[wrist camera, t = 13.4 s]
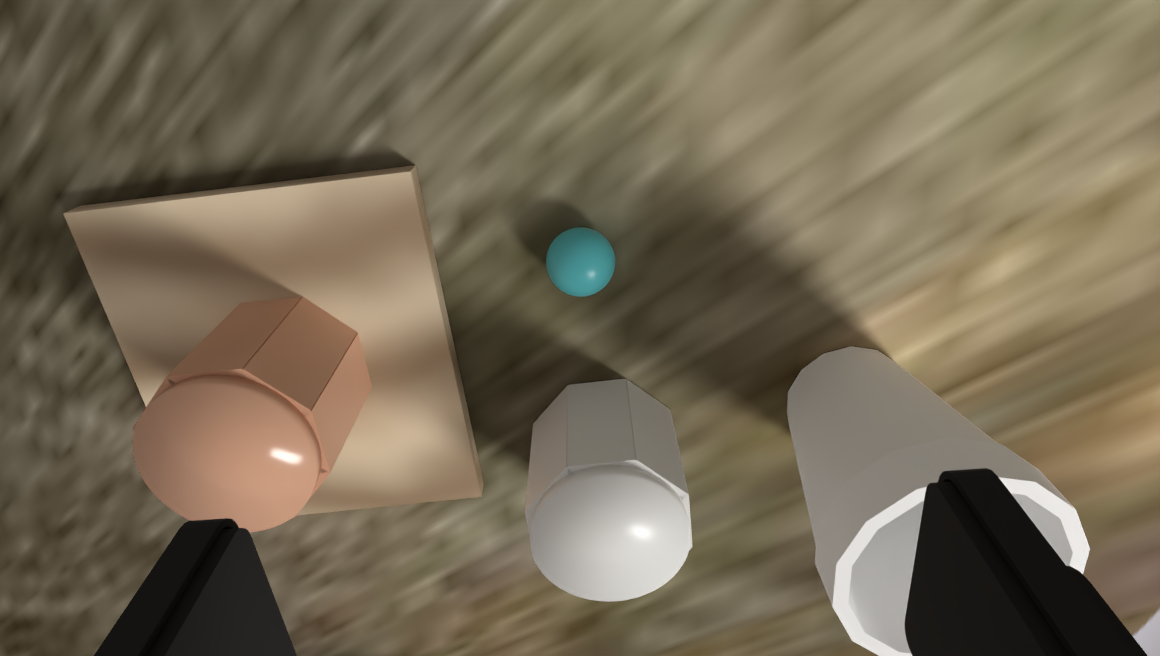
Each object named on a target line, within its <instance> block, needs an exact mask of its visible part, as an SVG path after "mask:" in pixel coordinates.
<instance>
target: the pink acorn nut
mask: <svg viewBox="0 0 1160 656" xmlns="http://www.w3.org/2000/svg"><path fill="white" fill-rule="evenodd" d="M371 388H372V384H371V380H370V376H369V373H368V369H367V365H366V361H365V357H364V354H363V350H362V346H361V342H360V338H359V335H358V333H357V332H356V331H355V330H353V329H352V328H350V327H349V326H347V325H346V324H344V323H343V322H341V321H340V320H338V319H337V318H335V317H333V316H332V315H330V314H329V313H327V312H326V311H324V310H323V309H321V308H320V307H318V306H317V305H315V304H313V303H312V302H310V301H309V300H307V299H306V298H304V297H303V298H302V297H292V298H283V299H273V300H264V301H254V302H245V303H240V304H239V305H238V306H237V307H236V308H235V309H234V310H233V311H232V312H231V313H230V314H229V315H228V316H227V317H226V318H225V319H224V320H223V321H222V322H221V323H220V324H219V325H218V326H217V327H216V328H215V329H214V330H213V331H212V332H211V333H210V334H209V335H208V336H207V337H205V338H204V339H203V340H202V341H201V342H200V343H199V344H198V345H197V346H196V347H195V348H194V349H193V350H192V351H191V352H190V353H189V354H188V355H187V356H186V357H185V358H184V359H183V360H182V361H181V362H180V363H179V364H178V365H177V366H176V367H175V368H174V369H173V370H172V371H171V372H170V373H169V374H168V375H167V376H166V378H165V379H164V381H163V382H162V384H161V385H160V387H159V388H158V390H157V391H156V393H155V395H154V396H153V398H152V399H151V401H150V402H149V404H148V405H147V407H146V408H145V410H144V412H143V413H142V414H141V416H140V418H139V419H138V421H137V422H136V424H135V425H134V427H133V430H134V435H133V453H134V458H135V462H136V465H137V468H138V471H139V473H140V474H141V476H142V478H143V480H144V482H145V483H146V484H147V486H148V487H149V489H150V490H151V491H152V492H153V493H154V494H155V496H156V497H157V498H158V499H159V500H161V501H162V502H163V503H164V504H165V505H166V506H168V507H169V508H170V509H172V510H173V511H174V512H176V513H178V514H179V515H181V516H183V517H184V518H186V519H188V520H190V521H194V520H209V519H224V518H229V519H233V520H234V521H235V522H236V523H237V525H238V527H239V528H245V529H247V530H248V531H249V532H255V531H262V530H266V529H269V528H273V527H275V526H278V525H280V524H282V523H284V522H286V521H288V520H289V519H291V518H294V517H295V516H296V515H297V514H298V512H299V511H300V510H301V509H302V508H303V507H304V506H305V504H306V503H307V501H308V500H309V499H310V498H311V496H312V495H313V494H314V493H315V491H316V490H317V489H318V488H319V486H320V485H321V484H322V483H323V481H324V480H325V479H326V478H327V476H328V475H329V474H330V472H331V470H332V468H333V466H334V464H335V462H336V460H337V458H338V456H339V454H340V452H341V450H342V448H343V446H344V443H345V441H346V439H347V437H348V435H349V433H350V431H351V429H352V427H353V425H354V423H355V421H356V419H357V417H358V415H359V413H360V411H361V409H362V406H363V404H364V402H365V400H366V398H367V396H368V394H369V392H370V390H371Z"/></svg>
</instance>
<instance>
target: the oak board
mask: <svg viewBox="0 0 1160 656" xmlns="http://www.w3.org/2000/svg"><path fill="white" fill-rule="evenodd" d="M63 214H64V217H65V219H66V221H67V224H68V226H69V228H70V231H71V233H72V235H73V238H74V240H75V242H76V245H77V247H78V249H79V252H80V254H81V256H82V259H83V261H84V263H85V266H86V268H87V270H88V273H89V275H90V277H91V280H92V282H93V284H94V287H95V289H96V291H97V294H98V296H99V298H100V301H101V303H102V305H103V308H104V310H105V312H106V315H107V317H108V319H109V322H110V324H111V326H112V329H113V331H114V333H115V336H116V338H117V340H118V343H119V345H120V347H121V350H122V352H123V354H124V357H125V359H126V361H127V364H128V366H129V368H130V371H131V373H132V375H133V378H134V380H135V382H136V385H137V387H138V389H139V392H140V394H141V396H142V399H143V401H144V403H145V406H146V407H147V405H148V404H149V402H150V401H151V399H152V398H153V396H154V395H155V393H156V391H157V390H158V388H159V387H160V385H161V384H162V382H163V381H164V379H165V378H166V376H167V375H168V374H169V373H170V372H171V371H172V370H173V369H174V368H175V367H176V366H177V365H178V364H179V363H180V362H181V361H182V360H183V359H184V358H185V357H186V356H187V355H188V354H189V353H190V352H191V351H192V350H193V349H194V348H195V347H196V346H197V345H198V344H199V343H200V342H201V341H202V340H203V339H204V338H205V337H207V336H208V335H209V334H210V333H211V332H212V331H213V330H214V329H215V328H216V327H217V326H218V325H219V324H220V323H221V322H222V321H223V320H224V319H225V318H226V317H227V316H228V315H229V314H230V313H231V312H232V311H233V310H234V309H235V308H236V307H237V306H238V305H239V304H240V303H245V302H254V301H264V300H273V299H283V298H292V297H302V298H303V297H304V298H306V299H307V300H309V301H310V302H312V303H313V304H315V305H317V306H318V307H320V308H321V309H323V310H324V311H326V312H327V313H329V314H330V315H332V316H333V317H335V318H337V319H338V320H340V321H341V322H343V323H344V324H346V325H347V326H349V327H350V328H352V329H353V330H355V331H356V332H357V333H358V335H359V338H360V342H361V346H362V350H363V354H364V357H365V361H366V365H367V369H368V373H369V376H370V380H371V384H372V388H371V390H370V392H369V394H368V396H367V398H366V400H365V402H364V404H363V406H362V409H361V411H360V413H359V415H358V417H357V419H356V421H355V423H354V425H353V427H352V429H351V431H350V433H349V435H348V437H347V439H346V441H345V443H344V446H343V448H342V450H341V452H340V454H339V456H338V458H337V460H336V462H335V464H334V466H333V468H332V470H331V472H330V474H329V475H328V476H327V478H326V479H325V480H324V481H323V483H322V484H321V485H320V486H319V488H318V489H317V490H316V491H315V493H314V494H313V495H312V496H311V498H310V499H309V500H308V501H307V503H306V504H305V506H304V507H303V508H302V509H301V510H300V511H299V512H298V514H297V515H304V514H314V513H324V512H334V511H344V510H354V509H364V508H374V507H384V506H394V505H404V504H414V503H424V502H434V501H444V500H453V499H463V498H473V497H481V495H482V490H483V484H484V482H483V478H482V473H481V468H480V464H479V459H478V454H477V450H476V445H475V440H474V436H473V431H472V426H471V422H470V417H469V412H468V408H467V403H466V398H465V394H464V389H463V384H462V380H461V375H460V370H459V366H458V361H457V356H456V352H455V347H454V342H453V338H452V333H451V328H450V324H449V319H448V314H447V310H446V305H445V300H444V296H443V291H442V286H441V282H440V277H439V272H438V268H437V263H436V258H435V254H434V249H433V244H432V240H431V235H430V230H429V226H428V221H427V216H426V212H425V207H424V202H423V198H422V193H421V188H420V183H419V179H418V174H417V169H416V165H413V166H405V167H396V168H388V169H380V170H372V171H363V172H355V173H347V174H339V175H330V176H322V177H314V178H306V179H297V180H289V181H281V182H273V183H264V184H256V185H248V186H240V187H231V188H223V189H215V190H207V191H199V192H190V193H182V194H174V195H166V196H157V197H149V198H141V199H133V200H124V201H116V202H108V203H100V204H91V205H83V206H78V207H76V208H74V209H72V210H70V211H67V212H65V213H63Z"/></svg>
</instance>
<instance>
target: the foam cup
mask: <svg viewBox="0 0 1160 656" xmlns="http://www.w3.org/2000/svg"><path fill="white" fill-rule="evenodd" d="M787 416H788V424H789V428H790V433H791V437H792V441H793V446H794V450H795V455H796V459H797V464H798V468H799V473H800V477H801V482H802V486H803V490H804V495H805V499H806V504H807V508H808V513H809V517H810V522H811V526H812V530H813V535H814V539H815V544H816V553H815V565H816V567H817V570H818V572H819V575H820V577H821V579H822V582H823V584H824V587H825V589H826V592H827V594H828V597H829V599H830V602H831V604H832V607H833V608H834V610H835V612H836V613H837V615H838V617H839V619H840V620H841V622H842V624H843V626H844V627H845V629H846V631H847V632H848V634H849V636H850V638H851V639H852V641H853V642H855V643H857V644H859V645H861V646H863V647H864V648H866V649H868V650H870V651H872V652H873V653H875V654H877V655H879V656H912V654H911V652H910V649H909V646H908V643H907V640H906V634H905V616H906V609H907V603H908V597H909V591H910V585H911V579H912V572H913V566H914V560H915V554H916V548H917V541H918V535H919V529H920V523H921V517H922V511H923V504H924V498H925V492H926V488H927V486H928V484H929V483H936V482H938V479H939V476H940V475H941V473H942V472H944V471H951V470H966V469H981V468H988V469H990V470H992V471H993V472H994V473H995V474H996V475H997V476H998V477H999V478H1000V480H1001V481H1002V482H1003V484H1004V485H1005V486H1006V488H1007V489H1008V490H1009V492H1010V493H1011V494H1012V495H1013V497H1014V498H1015V499H1016V501H1017V502H1018V503H1019V505H1020V506H1021V507H1022V509H1023V510H1024V511H1025V512H1026V514H1027V515H1028V516H1029V518H1030V519H1031V520H1032V522H1033V523H1034V524H1035V526H1036V527H1037V528H1038V529H1039V531H1040V532H1041V533H1042V535H1043V536H1044V537H1045V539H1046V540H1047V541H1048V543H1049V544H1050V545H1051V546H1052V548H1053V549H1054V550H1055V552H1056V553H1057V554H1058V556H1059V557H1060V558H1061V560H1062V561H1063V562H1064V563H1065V565H1066V566H1071V567H1073V568H1074V569H1076V570H1078V571H1080V572H1081V573H1082V574H1083V572H1084V568H1085V565H1086V561H1087V558H1088V554H1089V551H1090V548H1089V545H1088V542H1087V539H1086V537H1085V534H1084V531H1083V528H1082V526H1081V523H1080V520H1079V517H1078V514H1077V512H1076V509H1075V508H1074V507H1073V506H1072V505H1071V504H1070V503H1069V501H1068V500H1067V499H1066V498H1065V497H1064V496H1063V495H1062V494H1061V493H1060V492H1059V491H1058V490H1057V489H1056V487H1055V486H1054V485H1053V484H1052V483H1051V482H1050V481H1049V480H1048V479H1047V478H1046V477H1045V476H1044V475H1043V473H1042V472H1041V471H1040V470H1039V469H1037V468H1036V467H1034V466H1033V465H1031V464H1030V463H1028V462H1027V461H1026V460H1024V459H1023V458H1021V457H1020V456H1018V455H1017V454H1015V453H1014V452H1012V451H1011V450H1009V449H1008V448H1007V447H1005V446H1004V445H1002V444H998V443H997V442H995V441H994V440H993V439H992V438H990V437H989V436H988V435H987V434H985V433H984V432H983V431H981V430H980V429H979V428H978V427H976V426H975V425H974V424H973V423H971V422H970V421H969V420H968V419H966V418H965V417H964V416H963V415H961V414H960V413H959V412H958V411H956V410H955V409H954V408H953V407H951V406H950V405H949V404H948V403H946V402H945V401H944V400H943V399H941V398H940V397H939V396H938V395H936V394H935V393H934V392H933V391H931V390H930V389H929V388H928V387H926V386H925V385H924V384H923V383H921V382H920V381H919V380H917V379H916V378H915V377H914V376H912V375H911V374H910V373H909V372H907V371H906V370H905V369H904V368H902V367H901V366H899V365H898V364H897V363H895V362H894V361H893V360H891V359H890V358H888V357H887V356H885V355H884V354H882V353H881V352H879V351H878V350H874V349H866V348H859V347H852V346H850V347H846V348H843V349H839V350H835V351H831V352H828V353H824V354H822V355H821V356H819V357H818V358H817V359H815V360H814V361H813V362H811V363H810V364H808V365H807V366H806V367H804V368H803V369H802V370H801V371H800V372H799V374H798V376H797V378H796V379H795V381H794V383H793V384H792V386H791V388H790V389H789V391H788V401H787Z"/></svg>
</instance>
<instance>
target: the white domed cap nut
mask: <svg viewBox="0 0 1160 656" xmlns="http://www.w3.org/2000/svg"><path fill="white" fill-rule="evenodd" d="M525 515H526V520H527V525H528V530H529V536H530V544H531V551H532V554H533V558H534V562H535V563H536V564H537V566H538V567H539V569H540V570H541V572H542V573H543V574H544V575H545V576H546V578H547V579H549V580H550V581H551V582H552V583H553V584H555V585H556V586H558V587H559V588H561V589H562V590H564V591H566V592H568V593H570V594H573V595H575V596H578V597H581V598H585V599H590V600H596V601H621V600H628V599H632V598H636V597H640V596H642V595H645V594H648V593H650V592H652V591H654V590H656V589H658V588H659V587H661V586H662V585H664V584H665V583H667V582H668V581H669V580H670V579H671V578H672V577H673V576H674V575H675V574H676V573H677V572H678V571H679V569H680V568H681V567H682V565H683V563H684V562H685V560H686V558H687V555H688V552H689V550H690V549H691V548H692V534H691V520H690V506H689V494H688V489H687V485H686V480H685V476H684V471H683V466H682V462H681V457H680V452H679V448H678V443H677V438H676V434H675V429H674V425H673V420H672V415H671V411H670V409H669V408H667V407H666V406H665V405H663V404H662V403H660V402H659V401H657V400H656V399H655V398H653V397H652V396H650V395H649V394H647V393H646V392H645V391H643V390H642V389H640V388H639V387H637V386H636V385H635V384H633V383H632V382H630V381H629V380H627V379H617V380H608V381H599V382H589V383H580V384H571V385H567V386H566V387H565V389H564V390H563V391H562V392H561V393H560V394H559V395H558V396H557V397H556V399H555V400H554V401H553V402H552V403H551V404H550V405H549V406H548V408H547V409H546V410H545V411H544V412H543V413H542V414H541V415H540V416H539V418H538V419H537V420H536V421H535V422H534V423H533V430H532V440H531V451H530V462H529V473H528V483H527V494H526V505H525Z"/></svg>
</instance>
